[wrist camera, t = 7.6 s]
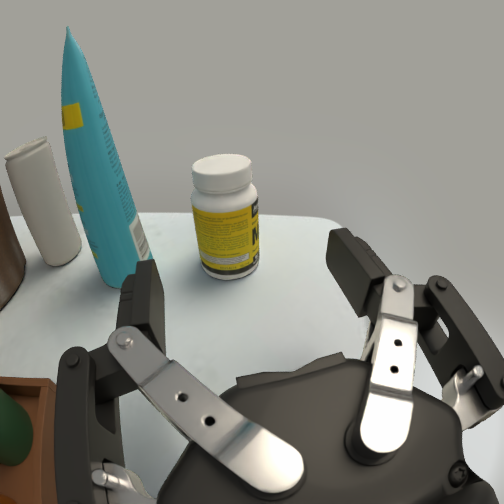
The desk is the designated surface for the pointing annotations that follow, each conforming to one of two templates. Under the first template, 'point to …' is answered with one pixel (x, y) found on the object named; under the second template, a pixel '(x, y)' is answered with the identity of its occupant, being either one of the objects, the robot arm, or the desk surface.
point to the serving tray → (42, 451)
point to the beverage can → (43, 201)
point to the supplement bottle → (226, 215)
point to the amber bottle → (6, 500)
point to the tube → (98, 174)
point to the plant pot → (9, 256)
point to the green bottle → (14, 431)
